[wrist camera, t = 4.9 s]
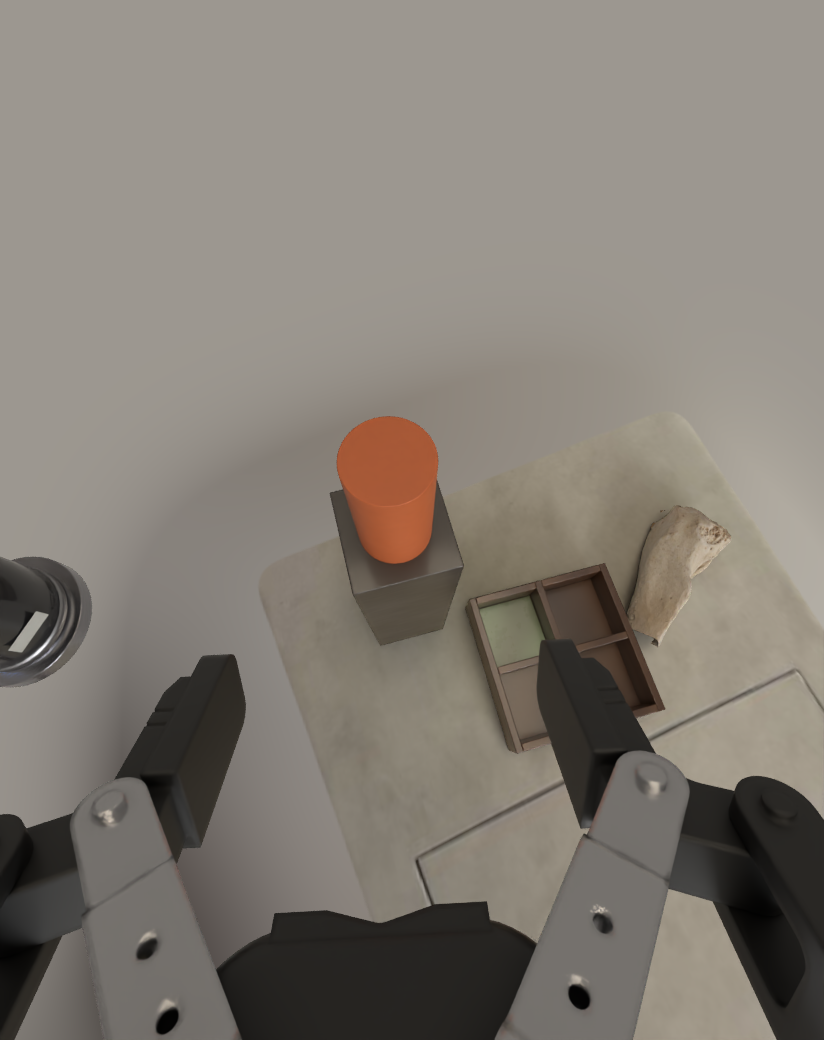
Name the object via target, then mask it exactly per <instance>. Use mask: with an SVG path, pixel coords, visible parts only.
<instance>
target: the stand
mask: <svg viewBox="0 0 824 1040" xmlns="http://www.w3.org/2000/svg"><path fill="white" fill-rule="evenodd" d="M330 497H331V501H332V505H333V510H334V514H335V519H336V523H337V527H338V531H339V536H340V540H341V545H342V549H343V554H344V558H345V562H346V567H347V571H348V575H349V580H350V584H351V589H352V593H353V596H354V597H355V599H356V601H357V603H358V605H359V607H360V609H361V610H362V612H363V614H364V616H365V618H366V620H367V621H368V623H369V625H370V627H371V629H372V631H373V633H374V634H375V636H376V638H377V640H378V642H379V644H380V645H385V644H389V643H392V642H396V641H400V640H403V639H407V638H411V637H414V636H418V635H422V634H425V633H429V632H433V631H436V630H440V629H443V626H444V623H445V620H446V617H447V614H448V611H449V608H450V605H451V602H452V599H453V596H454V593H455V590H456V587H457V585H458V582H459V579H460V576H461V573H462V570H463V567H464V564H463V561H462V558H461V555H460V551H459V548H458V545H457V542H456V539H455V536H454V532H453V529H452V526H451V523H450V520H449V516H448V513H447V510H446V507H445V504H444V500H443V497H442V494H441V491H440V488H439V485H438V481H436V492H435V503H434V513H433V524H432V534H431V538H430V541H429V543H428V545H427V547H426V548H425V549H424V551H423V552H422V553H421V554H419V555H418V556H417V557H415V558H414V559H412V560H410V561H407V562H404V563H397V564H392V563H385V562H382V561H379V560H377V559H375V558H374V557H372V556H371V555H370V554H369V553H368V552H367V551H366V550H365V549H364V547H363V546H362V544H361V542H360V539H359V536H358V533H357V530H356V527H355V524H354V521H353V518H352V515H351V512H350V508H349V505H348V502H347V499H346V496H345V493H344V490H339V491H335V492H331V493H330Z"/></svg>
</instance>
